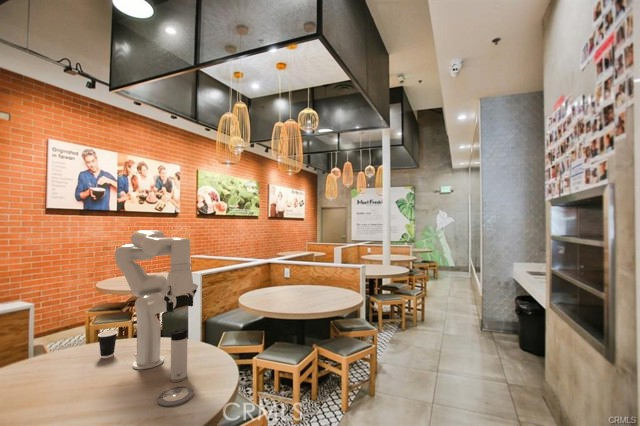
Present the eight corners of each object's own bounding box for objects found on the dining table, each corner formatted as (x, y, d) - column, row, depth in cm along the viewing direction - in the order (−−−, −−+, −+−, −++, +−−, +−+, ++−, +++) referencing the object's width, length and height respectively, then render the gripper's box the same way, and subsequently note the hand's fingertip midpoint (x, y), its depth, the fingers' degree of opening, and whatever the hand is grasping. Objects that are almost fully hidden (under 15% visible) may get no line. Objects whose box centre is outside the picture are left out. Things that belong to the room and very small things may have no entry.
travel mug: (181, 383, 124) (181, 332, 125) (167, 381, 126) (167, 331, 126) (190, 375, 130) (191, 327, 131) (177, 374, 132) (177, 326, 133)
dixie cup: (93, 360, 146) (94, 336, 147) (102, 353, 154) (102, 331, 155) (112, 358, 148) (112, 335, 148) (120, 352, 156) (120, 330, 156)
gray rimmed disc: (150, 401, 112) (150, 398, 112) (178, 385, 122) (179, 383, 122) (172, 410, 106) (172, 407, 106) (200, 393, 117) (200, 390, 117)
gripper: (191, 264, 139) (191, 303, 138) (155, 269, 124) (155, 313, 123) (203, 265, 136) (203, 304, 135) (167, 270, 120) (167, 315, 120)
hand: (180, 308), depth 129 cm, fingers open, 9 cm apart
